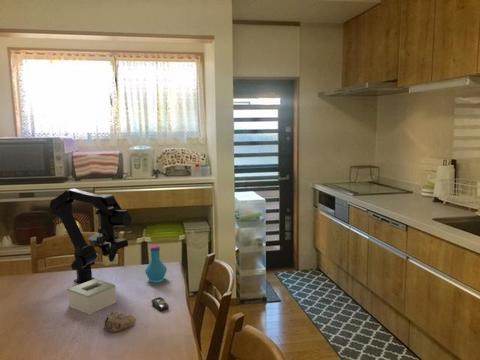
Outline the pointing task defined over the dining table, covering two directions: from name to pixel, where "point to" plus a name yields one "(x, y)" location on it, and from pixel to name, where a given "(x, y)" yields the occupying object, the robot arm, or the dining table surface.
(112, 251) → the robot arm
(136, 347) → the dining table surface
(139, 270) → the dining table surface
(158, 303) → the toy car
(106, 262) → the wooden block
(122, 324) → the rock
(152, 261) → the perfume bottle
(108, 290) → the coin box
